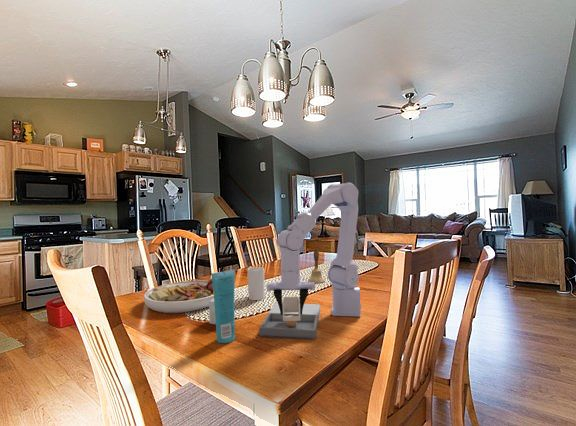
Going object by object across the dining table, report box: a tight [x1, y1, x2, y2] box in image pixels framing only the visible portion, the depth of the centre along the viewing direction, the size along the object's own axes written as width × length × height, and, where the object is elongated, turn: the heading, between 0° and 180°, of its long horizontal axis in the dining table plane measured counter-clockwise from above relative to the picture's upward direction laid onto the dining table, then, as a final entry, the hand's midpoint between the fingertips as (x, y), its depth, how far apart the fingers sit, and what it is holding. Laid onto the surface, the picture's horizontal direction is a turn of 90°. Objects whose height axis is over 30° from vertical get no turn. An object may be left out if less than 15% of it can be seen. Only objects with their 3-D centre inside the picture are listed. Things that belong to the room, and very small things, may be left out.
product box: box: [208, 299, 235, 325], centre depth 98 cm, size 6×6×7 cm
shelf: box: [268, 302, 321, 323], centre depth 102 cm, size 16×10×2 cm, turn 81°
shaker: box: [282, 295, 301, 321], centre depth 93 cm, size 5×7×5 cm
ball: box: [286, 315, 297, 327], centre depth 92 cm, size 3×3×3 cm
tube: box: [211, 269, 236, 344], centre depth 84 cm, size 7×5×19 cm, turn 140°
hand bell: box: [307, 247, 326, 284], centre depth 147 cm, size 8×8×16 cm
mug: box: [247, 266, 265, 301], centre depth 123 cm, size 10×7×12 cm, turn 21°
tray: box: [258, 312, 319, 340], centre depth 91 cm, size 16×12×2 cm
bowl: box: [143, 277, 214, 314], centre depth 119 cm, size 30×30×8 cm
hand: (291, 313), depth 93 cm, fingers closed on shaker, 5 cm apart
